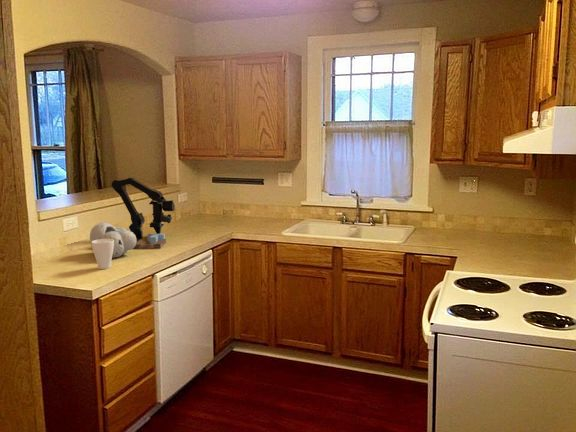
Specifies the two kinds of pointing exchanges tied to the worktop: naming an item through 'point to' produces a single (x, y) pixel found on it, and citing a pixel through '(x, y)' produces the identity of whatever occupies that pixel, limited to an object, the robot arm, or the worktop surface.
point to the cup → (103, 252)
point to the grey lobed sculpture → (114, 238)
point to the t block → (155, 238)
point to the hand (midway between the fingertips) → (158, 235)
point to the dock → (149, 245)
